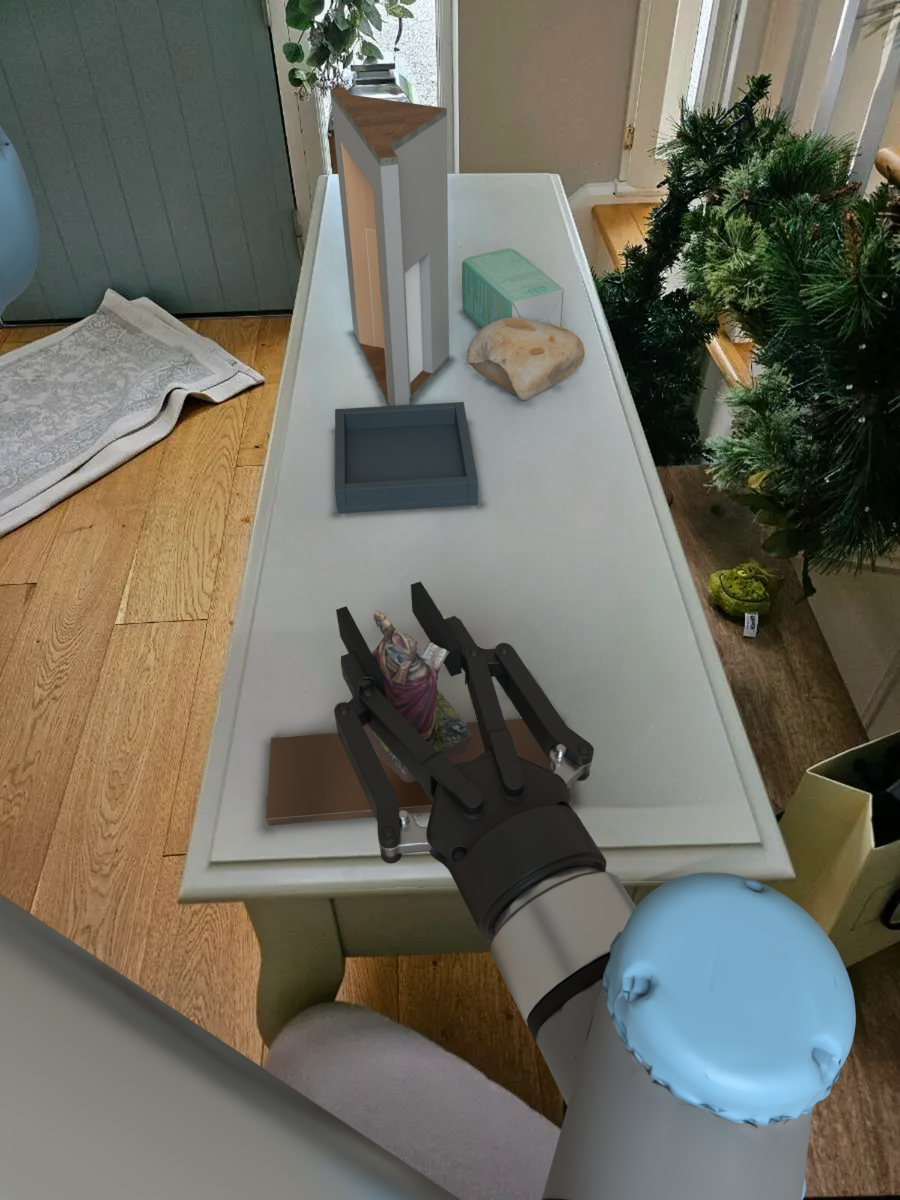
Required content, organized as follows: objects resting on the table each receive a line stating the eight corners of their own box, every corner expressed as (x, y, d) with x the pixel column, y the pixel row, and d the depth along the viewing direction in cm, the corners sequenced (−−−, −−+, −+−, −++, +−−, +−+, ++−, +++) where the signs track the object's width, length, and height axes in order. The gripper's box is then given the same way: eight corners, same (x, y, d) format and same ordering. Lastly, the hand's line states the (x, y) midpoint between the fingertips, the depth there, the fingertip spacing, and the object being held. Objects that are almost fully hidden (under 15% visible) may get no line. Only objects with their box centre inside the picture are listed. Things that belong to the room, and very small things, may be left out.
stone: (578, 333, 105) (593, 307, 97) (574, 418, 104) (589, 399, 96) (467, 324, 104) (473, 297, 96) (462, 410, 103) (467, 390, 95)
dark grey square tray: (337, 514, 85) (334, 490, 83) (337, 431, 95) (335, 408, 93) (477, 505, 86) (478, 481, 84) (463, 424, 96) (463, 401, 94)
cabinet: (353, 334, 110) (329, 88, 89) (425, 322, 112) (418, 79, 91) (396, 424, 96) (380, 158, 76) (478, 408, 98) (483, 145, 78)
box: (508, 297, 116) (511, 243, 110) (561, 344, 108) (566, 288, 102) (460, 310, 114) (460, 255, 108) (509, 359, 105) (512, 302, 100)
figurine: (401, 789, 58) (387, 682, 49) (355, 722, 61) (333, 612, 53) (479, 744, 60) (479, 634, 51) (430, 682, 64) (422, 569, 55)
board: (267, 826, 62) (265, 819, 61) (273, 744, 66) (271, 737, 66) (569, 801, 63) (570, 793, 62) (553, 723, 68) (554, 715, 67)
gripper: (394, 1010, 44) (264, 686, 59) (679, 871, 49) (494, 605, 64) (385, 953, 39) (244, 612, 53) (706, 803, 44) (496, 530, 58)
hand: (380, 609), depth 59 cm, fingers closed on figurine, 5 cm apart
